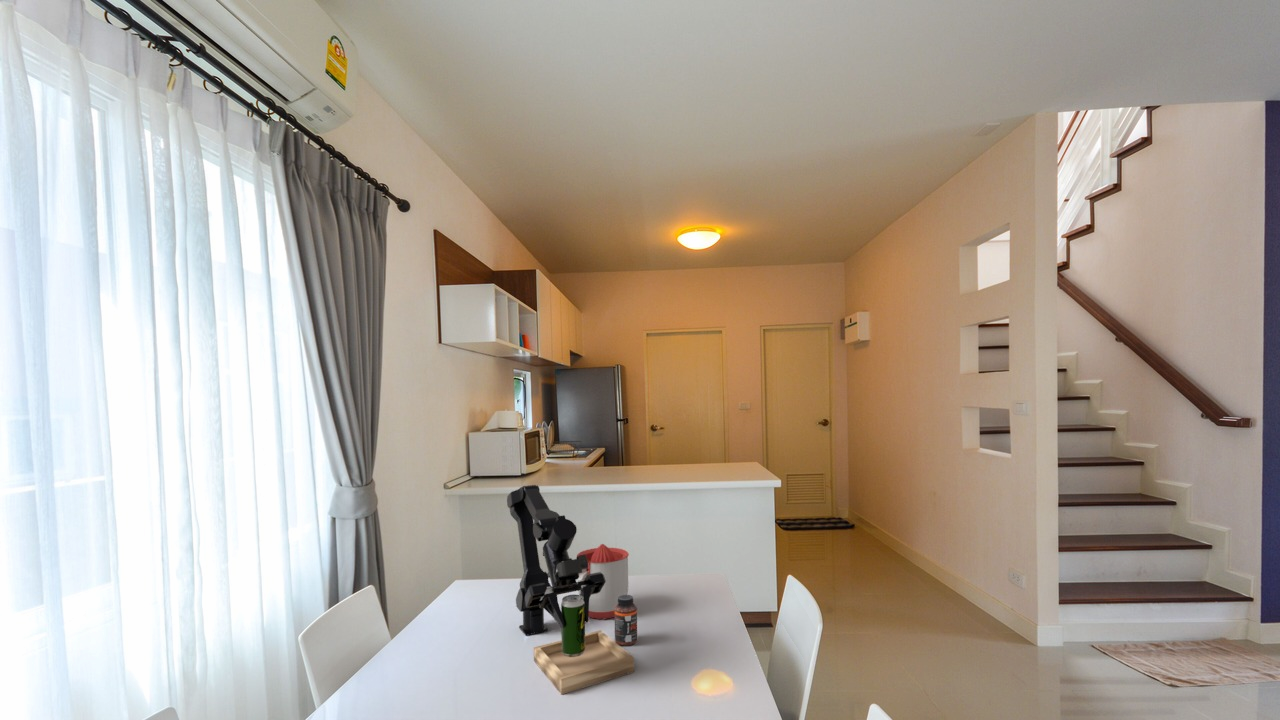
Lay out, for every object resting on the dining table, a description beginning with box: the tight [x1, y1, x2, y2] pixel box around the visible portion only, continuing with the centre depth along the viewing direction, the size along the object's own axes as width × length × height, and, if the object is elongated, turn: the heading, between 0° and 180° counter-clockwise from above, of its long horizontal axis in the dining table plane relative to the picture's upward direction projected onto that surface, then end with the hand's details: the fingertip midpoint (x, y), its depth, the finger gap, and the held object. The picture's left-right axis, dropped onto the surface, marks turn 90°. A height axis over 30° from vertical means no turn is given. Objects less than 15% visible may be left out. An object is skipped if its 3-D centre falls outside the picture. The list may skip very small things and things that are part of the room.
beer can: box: [560, 594, 586, 657], centre depth 124 cm, size 5×5×12 cm
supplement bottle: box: [614, 594, 638, 647], centre depth 141 cm, size 6×6×11 cm
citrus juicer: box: [576, 543, 630, 621], centre depth 161 cm, size 16×17×20 cm
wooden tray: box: [533, 630, 635, 695], centre depth 128 cm, size 18×18×3 cm
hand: (575, 624), depth 123 cm, fingers closed on beer can, 5 cm apart
